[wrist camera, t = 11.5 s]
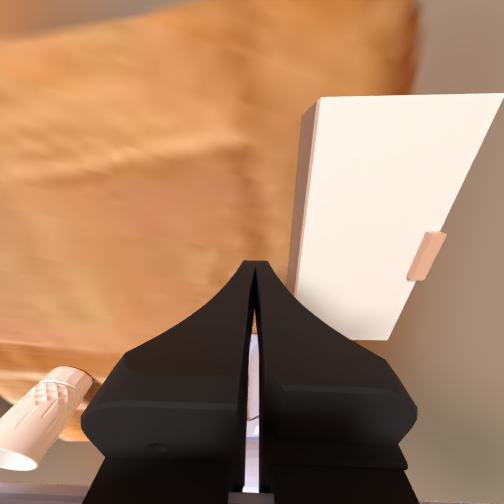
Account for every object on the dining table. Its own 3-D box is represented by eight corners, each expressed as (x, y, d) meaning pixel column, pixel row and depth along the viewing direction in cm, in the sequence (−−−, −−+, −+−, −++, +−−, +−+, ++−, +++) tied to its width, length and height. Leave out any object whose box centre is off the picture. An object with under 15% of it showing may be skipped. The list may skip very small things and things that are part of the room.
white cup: (64, 389, 34) (-4, 470, 25) (39, 363, 31) (-50, 446, 22) (104, 389, 34) (49, 471, 25) (83, 362, 30) (11, 447, 21)
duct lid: (382, 333, 20) (391, 345, 19) (289, 332, 20) (291, 344, 19) (489, 97, 11) (519, 89, 9) (316, 101, 11) (324, 93, 10)
